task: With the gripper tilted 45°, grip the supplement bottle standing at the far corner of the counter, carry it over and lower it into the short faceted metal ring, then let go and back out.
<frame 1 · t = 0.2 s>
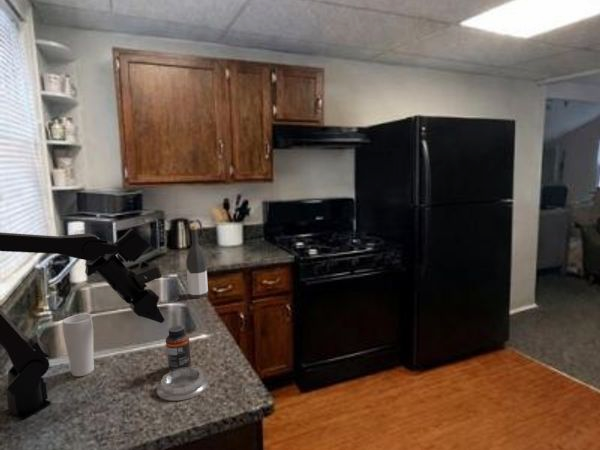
hand: (157, 316, 103), 14 cm above the worktop, tool tilted 35°, fingers open, 9 cm apart
drinking glass: (83, 373, 103), on the worktop
supplement bottle: (179, 368, 104), on the worktop
faceted metal ring: (183, 386, 95), on the worktop
wine bottle: (198, 296, 165), on the worktop
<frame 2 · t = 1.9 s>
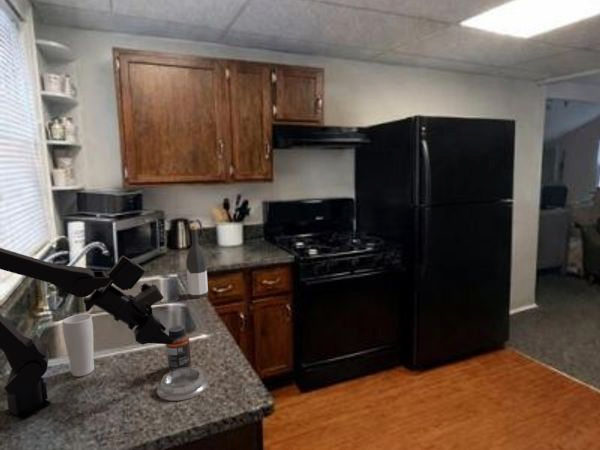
hand: (168, 336, 102), 10 cm above the worktop, tool tilted 45°, fingers open, 9 cm apart
nothing on the worktop moved.
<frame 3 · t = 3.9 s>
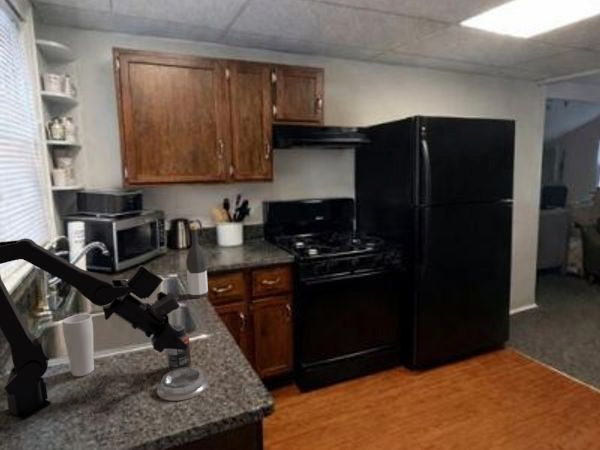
hand: (183, 343, 104), 7 cm above the worktop, tool tilted 45°, fingers closed on supplement bottle, 6 cm apart
supplement bottle: (179, 368, 104), on the worktop, touching gripper
everything else where it was.
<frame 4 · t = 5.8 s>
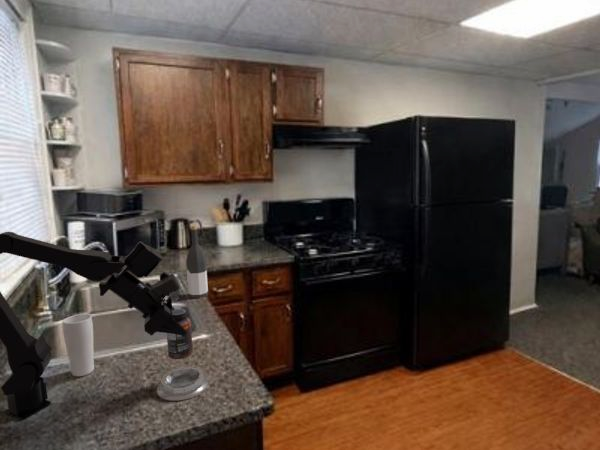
hand: (184, 328, 97), 13 cm above the worktop, tool tilted 45°, fingers closed on supplement bottle, 6 cm apart
supplement bottle: (180, 355, 97), point 6 cm above the worktop, touching gripper
everything else where it was.
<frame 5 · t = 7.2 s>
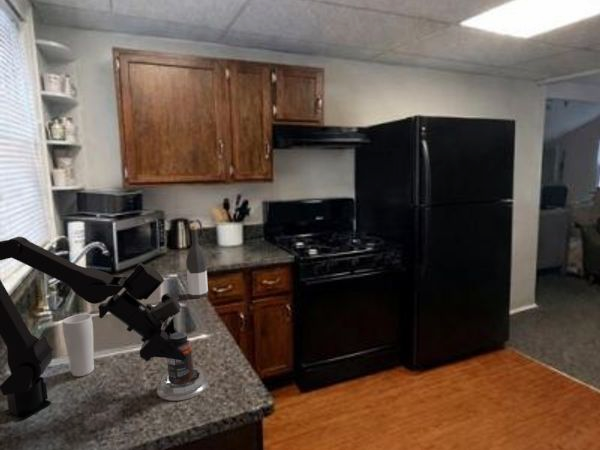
hand: (185, 352, 94), 9 cm above the worktop, tool tilted 45°, fingers closed on supplement bottle, 6 cm apart
supplement bottle: (181, 379, 95), point 2 cm above the worktop, touching gripper
everything else where it was.
when the fingers open (8 cm above the worktop, at t = 8.1 s): supplement bottle drops 1 cm, resting on faceted metal ring.
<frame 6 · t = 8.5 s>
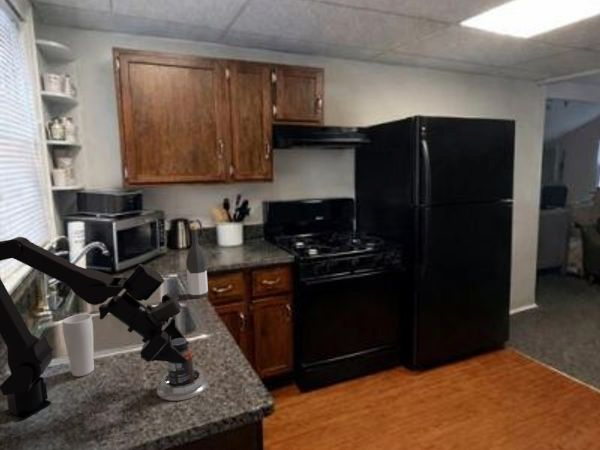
hand: (186, 353, 94), 9 cm above the worktop, tool tilted 45°, fingers open, 9 cm apart
supplement bottle: (182, 385, 95), resting on faceted metal ring
everything else where it was.
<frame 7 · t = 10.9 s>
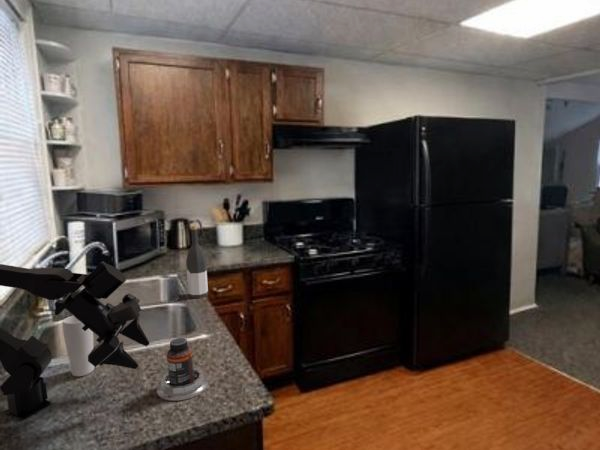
hand: (142, 355, 92), 9 cm above the worktop, tool tilted 40°, fingers open, 9 cm apart
nothing on the worktop moved.
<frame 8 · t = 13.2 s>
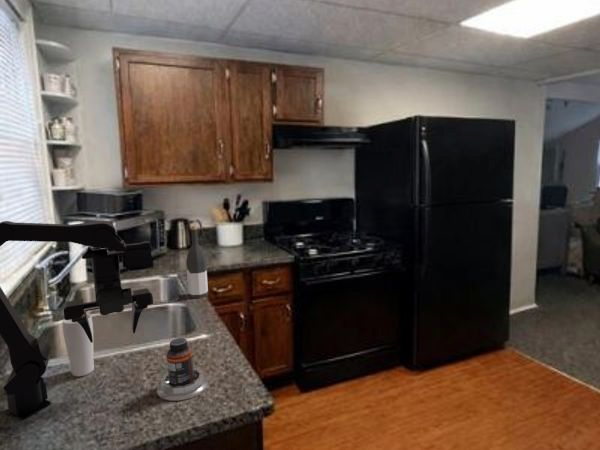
hand: (113, 337, 94), 13 cm above the worktop, tool pointing down, fingers open, 9 cm apart
nothing on the worktop moved.
at the end: supplement bottle 0.2 cm off-centre on the faceted metal ring, point 0.3 cm above the faceted metal ring's base; supplement bottle tilted 0°; the gripper is holding nothing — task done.
